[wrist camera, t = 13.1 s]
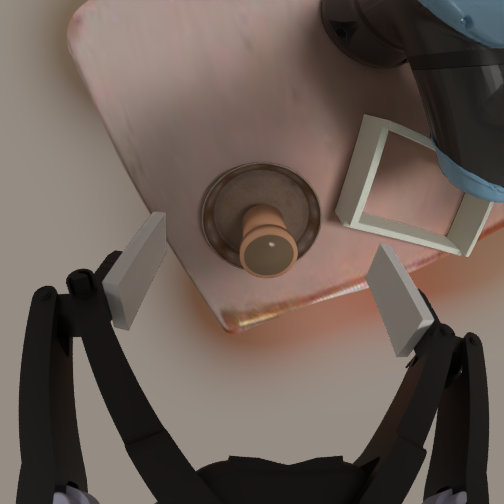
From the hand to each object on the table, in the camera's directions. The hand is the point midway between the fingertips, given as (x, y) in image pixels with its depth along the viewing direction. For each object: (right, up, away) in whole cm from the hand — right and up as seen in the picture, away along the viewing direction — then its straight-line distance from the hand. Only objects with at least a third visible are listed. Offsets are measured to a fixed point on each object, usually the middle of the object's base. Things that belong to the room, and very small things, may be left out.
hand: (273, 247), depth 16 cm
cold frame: (+26, +11, +23) cm, 36 cm away
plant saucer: (0, +6, +27) cm, 27 cm away
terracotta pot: (0, +4, +24) cm, 24 cm away
